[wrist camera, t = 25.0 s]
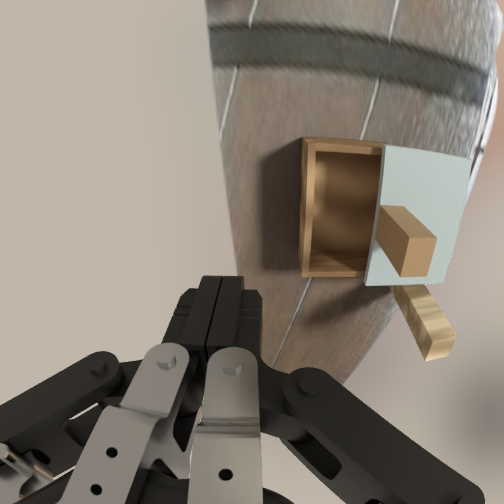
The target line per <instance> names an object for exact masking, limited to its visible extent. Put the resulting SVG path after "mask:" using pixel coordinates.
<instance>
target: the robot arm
mask: <svg viewBox="0 0 504 504" xmlns="http://www.w3.org/2000/svg"><path fill="white" fill-rule="evenodd" d="M261 347H262V297H261V296H260V294H259V292H258V291H257V290H244V277H243V276H203V277H202V279H201V282H200V285H199V288H198V289H195V288H189V289H188V290H187V291H186V292H185V293H184V294H183V295H182V296H181V297H180V299H179V301H178V304H177V308H176V309H175V311H174V313H173V316H172V318H171V321H170V323H169V326H168V328H167V331H166V333H165V336H164V338H163V341H162V343H161V344H159V345H156V346H154V347H153V348H151V349H150V350H149V351H148V352H147V353H146V355H145V357H144V359H142V360H138V361H130V362H123V363H119V361H118V359H117V357H116V356H115V355H114V354H112V353H110V352H106V351H100V352H95V353H92V354H90V355H89V356H87V357H85V358H83V359H81V360H80V361H78V362H76V363H74V364H73V365H71V366H69V367H67V368H66V369H64V370H63V371H60V372H59V373H57V374H55V375H53V376H52V377H50V378H48V379H46V380H45V381H43V382H41V383H39V384H38V385H36V386H34V387H33V388H30V389H29V390H27V391H25V392H24V393H22V394H20V395H18V396H16V397H15V398H13V399H11V400H9V401H7V402H6V403H4V404H2V405H0V504H294V503H293V502H291V501H290V500H289V499H287V498H285V497H284V496H282V495H280V494H278V493H276V492H274V491H271V490H268V489H266V488H263V487H262V463H261V438H260V437H261V436H260V432H263V433H266V434H269V435H272V436H275V437H279V438H280V440H281V442H282V443H283V444H284V445H285V446H286V447H287V448H288V449H289V450H290V451H291V452H292V453H293V454H294V455H295V456H296V457H297V458H298V459H299V460H300V461H301V462H302V463H303V464H304V465H305V466H306V467H307V468H308V469H309V470H310V471H311V472H312V473H313V474H314V475H315V476H316V477H317V478H319V480H320V481H322V482H323V483H324V484H325V485H326V486H327V487H328V488H329V489H330V490H331V491H332V492H334V493H335V494H336V495H337V496H338V497H339V498H340V499H341V500H343V501H344V502H345V503H346V504H485V498H484V494H483V492H482V490H481V489H480V488H479V487H478V486H477V485H475V484H474V483H472V482H471V481H469V480H468V479H466V478H465V477H463V476H462V475H460V474H459V473H457V472H456V471H455V470H453V469H452V468H450V467H449V466H447V465H446V464H444V463H443V462H442V461H440V460H439V459H437V458H436V457H435V456H433V455H432V454H431V453H429V452H428V451H426V450H425V449H424V448H422V447H421V446H420V445H418V444H417V443H415V442H414V441H413V440H411V439H410V438H409V437H407V436H406V435H404V434H403V433H402V432H401V431H399V430H398V429H397V428H396V427H394V426H393V425H392V424H390V423H389V422H388V421H386V420H385V419H384V418H382V417H381V416H380V415H379V414H377V413H376V412H375V411H374V410H372V409H371V408H370V407H368V406H367V405H366V404H364V403H363V402H362V401H361V400H360V399H358V398H357V397H356V396H354V395H353V394H352V393H351V392H350V391H348V390H347V389H346V388H345V387H343V386H342V385H341V384H340V383H339V382H337V381H336V380H335V379H334V378H332V377H331V376H330V375H329V374H328V373H326V372H325V371H323V370H320V369H317V368H312V367H306V368H300V369H297V370H295V371H293V372H291V373H290V374H287V373H284V372H280V371H277V370H274V369H272V368H270V367H269V366H267V365H266V364H265V363H264V362H263V360H262V359H261ZM203 396H204V400H203ZM202 401H203V403H202ZM95 403H98V405H97V406H95V407H94V408H92V409H90V410H89V411H87V412H85V413H84V414H82V415H80V416H78V417H77V418H75V419H72V420H69V419H70V418H72V417H73V416H75V415H77V414H78V413H80V412H82V411H84V410H85V409H87V408H88V407H90V406H92V405H93V404H95ZM201 415H202V418H201ZM200 419H201V422H200ZM199 422H200V424H199ZM192 446H193V450H192V461H191V470H190V453H191V449H192ZM75 465H76V467H75V468H74V469H73V470H71V471H70V472H68V473H66V474H64V475H63V476H61V477H60V478H58V479H56V480H54V479H53V477H55V476H57V475H59V474H61V473H63V472H64V471H66V470H68V469H70V468H72V467H73V466H75ZM189 472H190V478H188V477H189Z"/></svg>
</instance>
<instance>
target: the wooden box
mask: <svg viewBox="0 0 504 504" xmlns="http://www.w3.org/2000/svg"><path fill="white" fill-rule="evenodd" d="M382 144H386V145H390V144H387V143H381V142H371V141H361V140H349V139H335V138H317V137H302V165H301V201H300V226H299V246H298V256H299V262H300V269H301V275H302V277H365V272H366V267H367V261H368V256H369V250H370V245H371V239H372V232H373V226H374V219H375V212H376V205H377V197H378V188H379V179H380V168H381V157H382Z"/></svg>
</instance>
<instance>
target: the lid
mask: <svg viewBox="0 0 504 504" xmlns="http://www.w3.org/2000/svg"><path fill="white" fill-rule="evenodd" d="M471 163H472V160H471V159H469V158H465V157H461V156H456V155H451V154H446V153H440V152H434V151H429V150H422V149H416V148H409V147H402V146H394V145H386V144H382V157H381V168H380V179H379V188H378V197H377V205H376V212H375V219H374V226H373V232H372V239H371V245H370V250H369V256H368V261H367V267H366V272H365V277H364V284H365V286H383V285H414V284H436V283H443V281H444V279H445V276H446V272H447V269H448V266H449V263H450V260H451V256H452V253H453V250H454V246H455V242H456V238H457V235H458V231H459V226H460V222H461V218H462V214H463V209H464V205H465V200H466V194H467V189H468V183H469V177H470V170H471Z"/></svg>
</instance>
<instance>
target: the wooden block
mask: <svg viewBox="0 0 504 504" xmlns="http://www.w3.org/2000/svg"><path fill="white" fill-rule="evenodd" d="M389 288H390V290H391V292H392V294H393V296H394V298H395V299H396V301H397V303H398V305H399V307H400V309H401V311H402V313H403V315H404V317H405V319H406V321H407V323H408V325H409V327H410V329H411V332H412V334H413V336H414V338H415V340H416V342H417V344H418V346H419V348H420V351H421V353H422V355H423V357H424V360H425V361H429V360H433V359H437V358H440V357H444V356H448V354H449V352H450V350H451V348H452V345H453V343H454V341H455V338H456V334H455V332H454V331H453V329H452V327H451V326H450V324H449V322H448V321H447V319H446V317H445V316H444V315H443V313H442V311H441V309H440V308H439V306H438V305H437V303H436V302H435V300H434V298H433V297H432V295H431V294H430V292H429V291H428V289H427V288H426V286H425V285H424V284H414V285H389Z"/></svg>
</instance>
